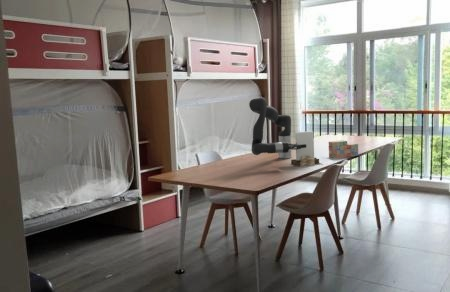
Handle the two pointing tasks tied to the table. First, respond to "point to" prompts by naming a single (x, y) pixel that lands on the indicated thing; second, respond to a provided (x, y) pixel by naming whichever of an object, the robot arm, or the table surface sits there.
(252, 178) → the table surface
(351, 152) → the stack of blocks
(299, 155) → the tall board
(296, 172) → the table surface
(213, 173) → the table surface
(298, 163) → the walnut rack
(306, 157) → the offcut stack
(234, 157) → the table surface
